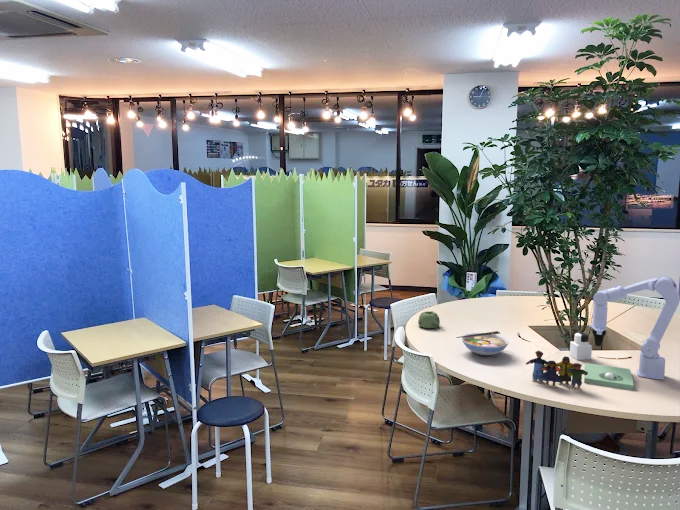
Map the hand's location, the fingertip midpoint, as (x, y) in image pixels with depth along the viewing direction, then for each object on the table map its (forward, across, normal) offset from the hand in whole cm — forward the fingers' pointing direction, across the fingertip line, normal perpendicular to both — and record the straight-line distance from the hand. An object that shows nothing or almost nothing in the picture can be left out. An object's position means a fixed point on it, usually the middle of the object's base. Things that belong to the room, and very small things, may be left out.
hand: (597, 345), depth 225 cm
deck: (+9, +15, +4) cm, 18 cm away
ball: (+8, +19, +4) cm, 21 cm away
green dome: (+10, -30, -89) cm, 94 cm away
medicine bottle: (+10, -8, -7) cm, 14 cm away
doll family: (+10, +32, -16) cm, 37 cm away
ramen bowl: (+10, +6, -50) cm, 51 cm away
